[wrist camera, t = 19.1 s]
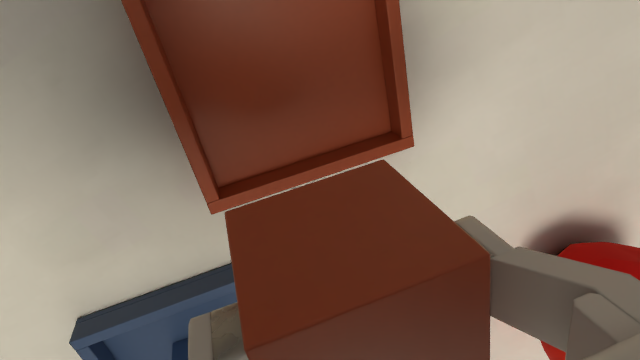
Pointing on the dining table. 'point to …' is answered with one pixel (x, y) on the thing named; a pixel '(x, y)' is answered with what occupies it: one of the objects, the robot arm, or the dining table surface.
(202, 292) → the blue tray
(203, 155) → the rust tray
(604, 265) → the tomato
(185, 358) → the blue block
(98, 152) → the dining table surface
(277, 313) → the rust block
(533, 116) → the dining table surface
